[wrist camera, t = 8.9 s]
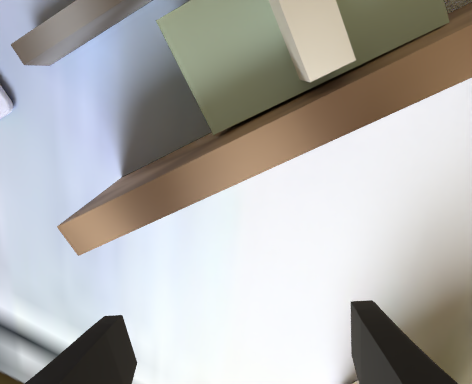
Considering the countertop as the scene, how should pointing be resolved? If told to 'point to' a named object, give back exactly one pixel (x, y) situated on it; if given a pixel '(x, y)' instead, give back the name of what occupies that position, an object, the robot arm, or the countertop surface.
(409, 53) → the wall board
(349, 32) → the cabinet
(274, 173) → the countertop surface
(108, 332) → the robot arm
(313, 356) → the countertop surface
